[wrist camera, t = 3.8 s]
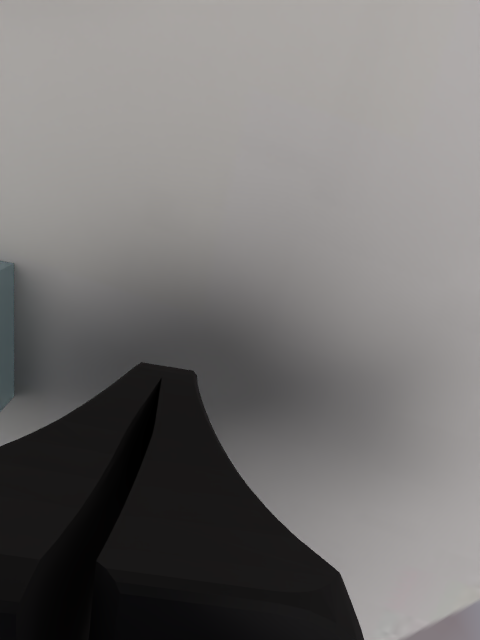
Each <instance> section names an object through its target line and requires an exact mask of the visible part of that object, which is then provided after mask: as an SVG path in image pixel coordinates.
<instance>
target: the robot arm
mask: <svg viewBox="0 0 480 640" xmlns="http://www.w3.org/2000/svg"><path fill="white" fill-rule="evenodd" d="M0 640H364V638H363V634H362V631H361V627H360V624H359V622H358V619H357V616H356V614H355V611H354V608H353V605H352V603H351V600H350V598H349V595H348V592H347V590H346V587H345V585H344V582H343V579H342V577H341V575H340V573H339V572H338V571H337V570H336V569H335V568H333V567H332V566H331V565H330V564H329V563H327V562H326V561H325V560H324V559H322V558H321V557H320V556H319V555H317V554H316V553H315V552H314V551H313V550H311V549H310V548H309V547H308V546H306V545H305V544H304V543H303V542H302V541H300V540H299V539H298V538H297V537H296V536H295V535H293V534H292V533H291V532H290V531H289V530H288V529H287V528H286V527H285V526H284V525H283V524H282V523H281V522H280V521H279V520H278V519H277V518H276V517H275V516H274V515H273V514H272V513H271V512H270V511H269V510H268V509H267V508H266V507H265V506H264V504H263V503H262V502H261V501H260V500H259V499H258V497H257V496H256V495H255V494H254V493H253V492H252V490H251V489H250V488H249V487H248V486H247V484H246V483H245V481H244V480H243V479H242V477H241V476H240V475H239V473H238V472H237V470H236V469H235V467H234V466H233V464H232V463H231V461H230V459H229V458H228V456H227V454H226V453H225V451H224V449H223V447H222V446H221V444H220V442H219V440H218V438H217V436H216V434H215V432H214V430H213V428H212V425H211V423H210V421H209V418H208V416H207V413H206V411H205V408H204V406H203V403H202V400H201V396H200V393H199V389H198V384H197V375H196V374H195V373H194V371H191V370H185V369H178V368H172V367H166V366H160V365H154V364H148V363H142V362H141V363H140V364H138V365H137V366H135V367H134V368H133V369H131V370H130V371H129V372H128V373H126V374H125V375H124V376H123V377H121V378H120V379H119V380H117V381H116V382H115V383H113V384H112V385H111V386H109V387H108V388H107V389H105V390H104V391H102V392H101V393H100V394H98V395H97V396H95V397H94V398H93V399H91V400H90V401H88V402H87V403H85V404H83V405H82V406H80V407H79V408H77V409H75V410H74V411H72V412H71V413H69V414H67V415H66V416H64V417H62V418H61V419H59V420H57V421H55V422H53V423H51V424H49V425H47V426H45V427H43V428H41V429H39V430H37V431H35V432H33V433H31V434H29V435H27V436H25V437H22V438H20V439H18V440H15V441H13V442H10V443H8V444H5V445H3V446H0Z"/></svg>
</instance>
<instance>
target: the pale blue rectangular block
mask: <svg viewBox="0 0 480 640" xmlns="http://www.w3.org/2000/svg"><path fill="white" fill-rule="evenodd" d="M13 397H14V263H10V262H4V261H0V411H1V410H2V409H3V408H4V407H5V406H6V405H7V404H8V402H9V401H10V400H11V399H12V398H13Z"/></svg>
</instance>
